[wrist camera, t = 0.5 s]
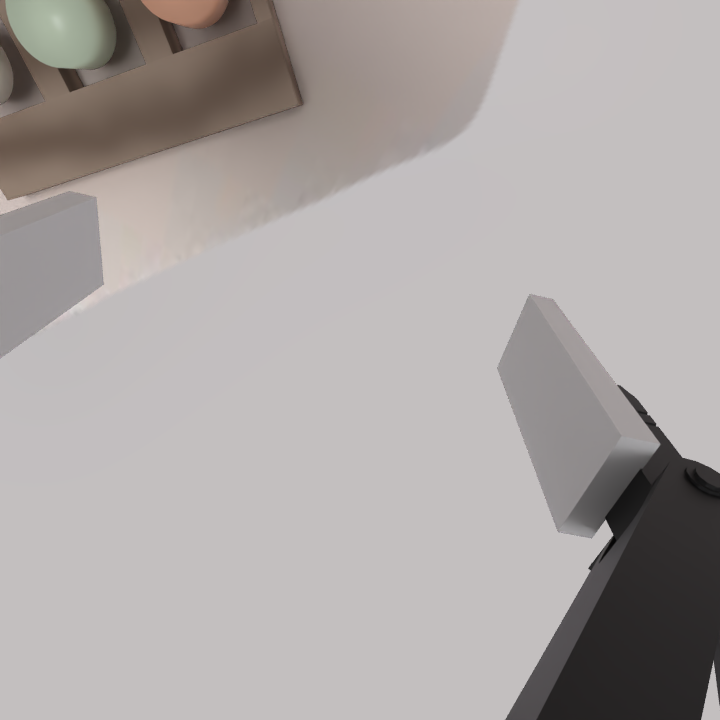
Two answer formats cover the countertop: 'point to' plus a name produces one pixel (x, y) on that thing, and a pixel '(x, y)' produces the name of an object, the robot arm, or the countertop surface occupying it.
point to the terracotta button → (188, 11)
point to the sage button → (64, 31)
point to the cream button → (5, 77)
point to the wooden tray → (144, 100)
